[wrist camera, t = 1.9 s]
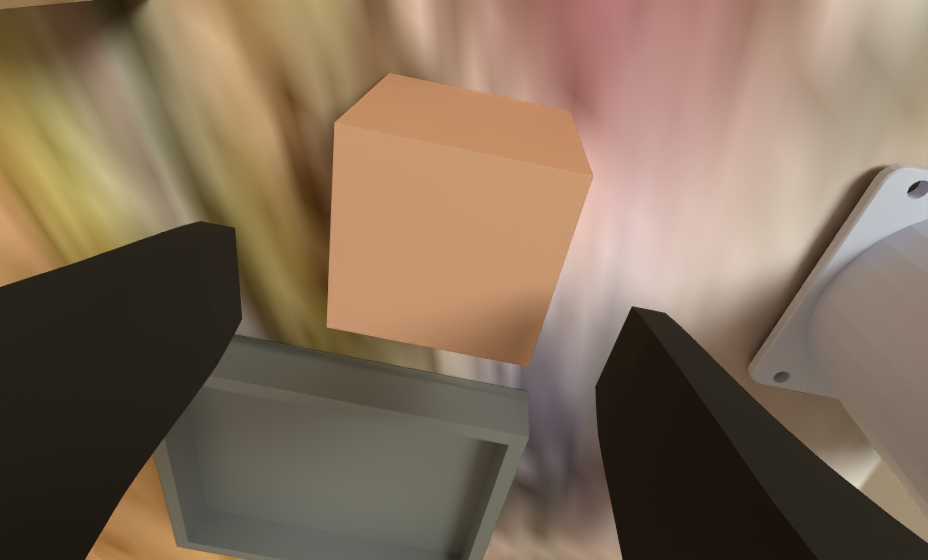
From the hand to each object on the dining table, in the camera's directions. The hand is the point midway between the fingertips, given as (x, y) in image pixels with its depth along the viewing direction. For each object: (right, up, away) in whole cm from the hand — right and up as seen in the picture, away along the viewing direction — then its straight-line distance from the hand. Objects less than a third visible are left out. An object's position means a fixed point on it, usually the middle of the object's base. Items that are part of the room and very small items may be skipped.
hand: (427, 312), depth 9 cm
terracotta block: (+1, +4, +6) cm, 7 cm away
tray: (-5, -7, +13) cm, 16 cm away
